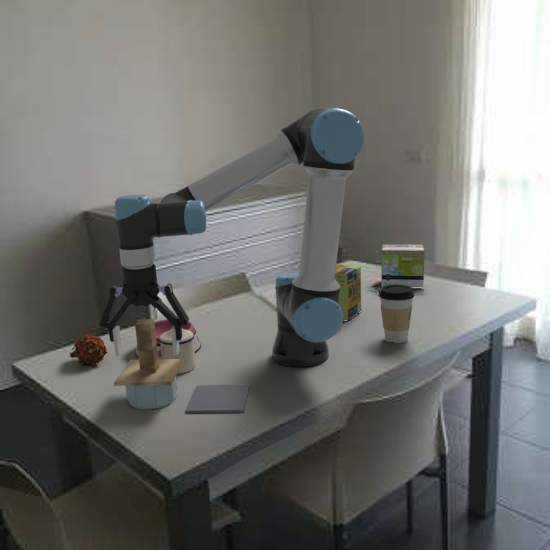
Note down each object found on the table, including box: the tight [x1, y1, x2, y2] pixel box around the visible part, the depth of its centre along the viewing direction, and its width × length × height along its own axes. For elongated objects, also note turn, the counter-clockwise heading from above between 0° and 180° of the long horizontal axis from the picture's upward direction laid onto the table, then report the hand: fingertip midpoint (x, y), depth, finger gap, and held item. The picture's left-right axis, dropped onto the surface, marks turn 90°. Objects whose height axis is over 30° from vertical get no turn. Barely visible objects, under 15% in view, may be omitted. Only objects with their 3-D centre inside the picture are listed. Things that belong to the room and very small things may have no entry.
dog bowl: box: [135, 318, 202, 359], centre depth 176 cm, size 18×19×7 cm
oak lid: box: [113, 318, 183, 387], centre depth 143 cm, size 13×13×13 cm
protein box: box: [335, 263, 362, 322], centre depth 198 cm, size 10×15×16 cm
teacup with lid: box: [157, 329, 197, 375], centre depth 161 cm, size 12×9×12 cm
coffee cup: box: [378, 285, 415, 344], centre depth 174 cm, size 10×10×15 cm
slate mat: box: [185, 384, 251, 414], centre depth 144 cm, size 13×13×1 cm
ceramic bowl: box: [124, 376, 178, 410], centre depth 145 cm, size 11×11×6 cm
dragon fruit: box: [69, 334, 108, 366], centre depth 169 cm, size 8×8×12 cm
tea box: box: [380, 244, 425, 288], centre depth 225 cm, size 15×10×15 cm, turn 80°
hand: (147, 353), depth 143 cm, fingers open, 13 cm apart
